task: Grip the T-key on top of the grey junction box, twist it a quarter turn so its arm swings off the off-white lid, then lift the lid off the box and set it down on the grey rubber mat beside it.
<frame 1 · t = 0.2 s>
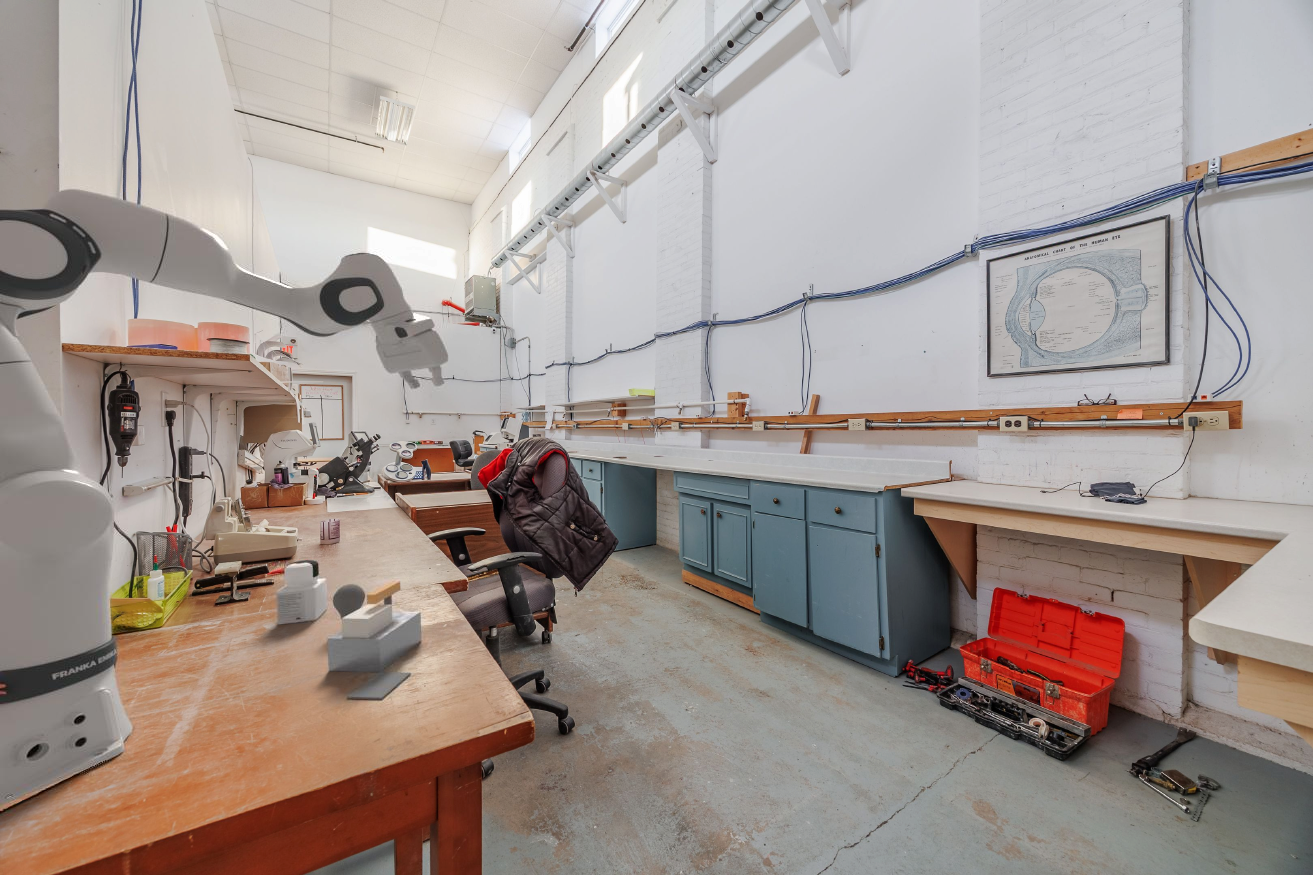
hand: (427, 386, 112), 54 cm above the table, tool tilted 30°, fingers open, 8 cm apart
t key: (384, 603, 97), point 9 cm above the table, hinge at 0.0°
container: (303, 617, 115), on the table
junction box: (378, 654, 95), on the table
lid: (368, 629, 92), point 6 cm above the table, touching junction box
mat: (380, 685, 83), on the table
light bulb: (350, 630, 107), on the table
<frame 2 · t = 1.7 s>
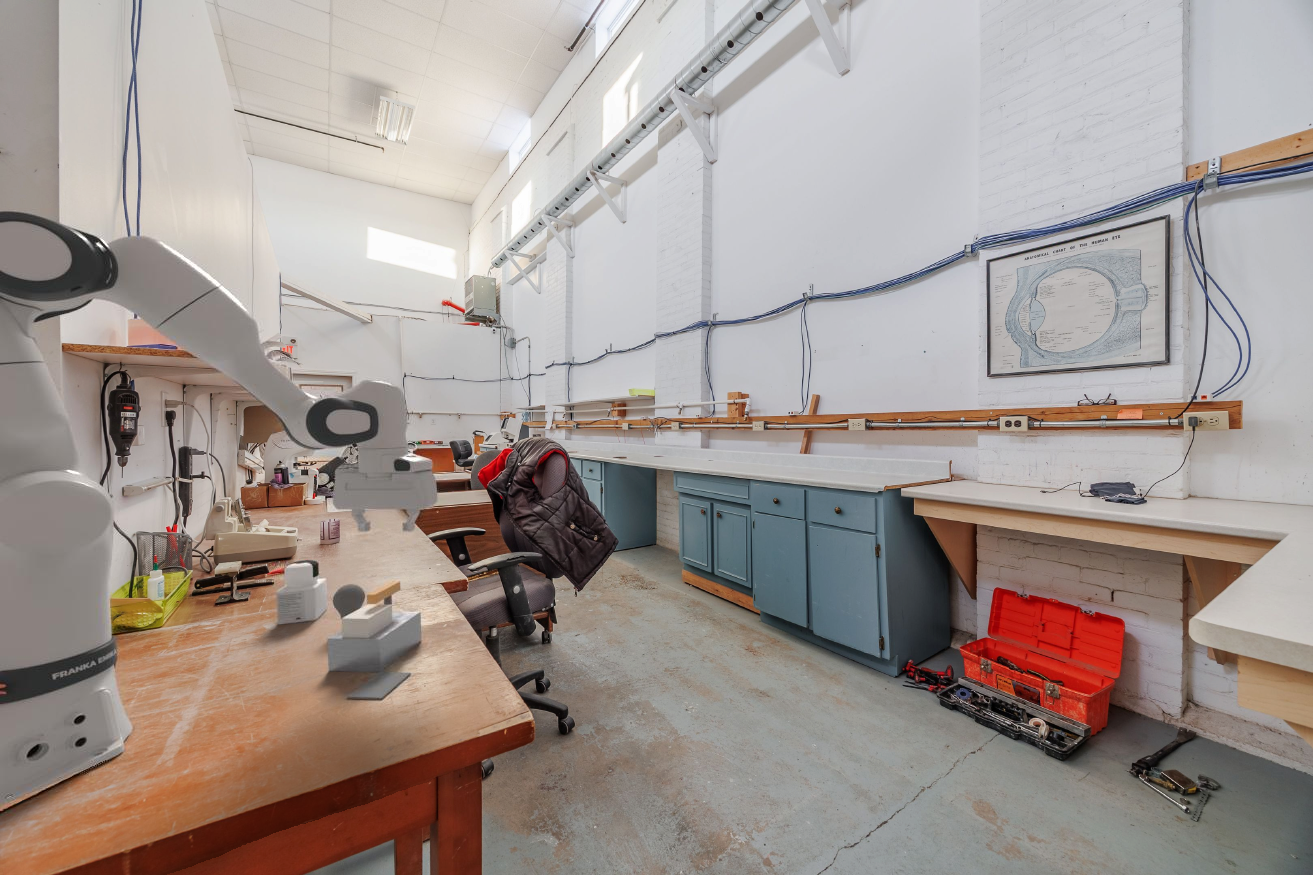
hand: (386, 531, 98), 23 cm above the table, tool pointing down, fingers open, 8 cm apart
nothing on the table moved.
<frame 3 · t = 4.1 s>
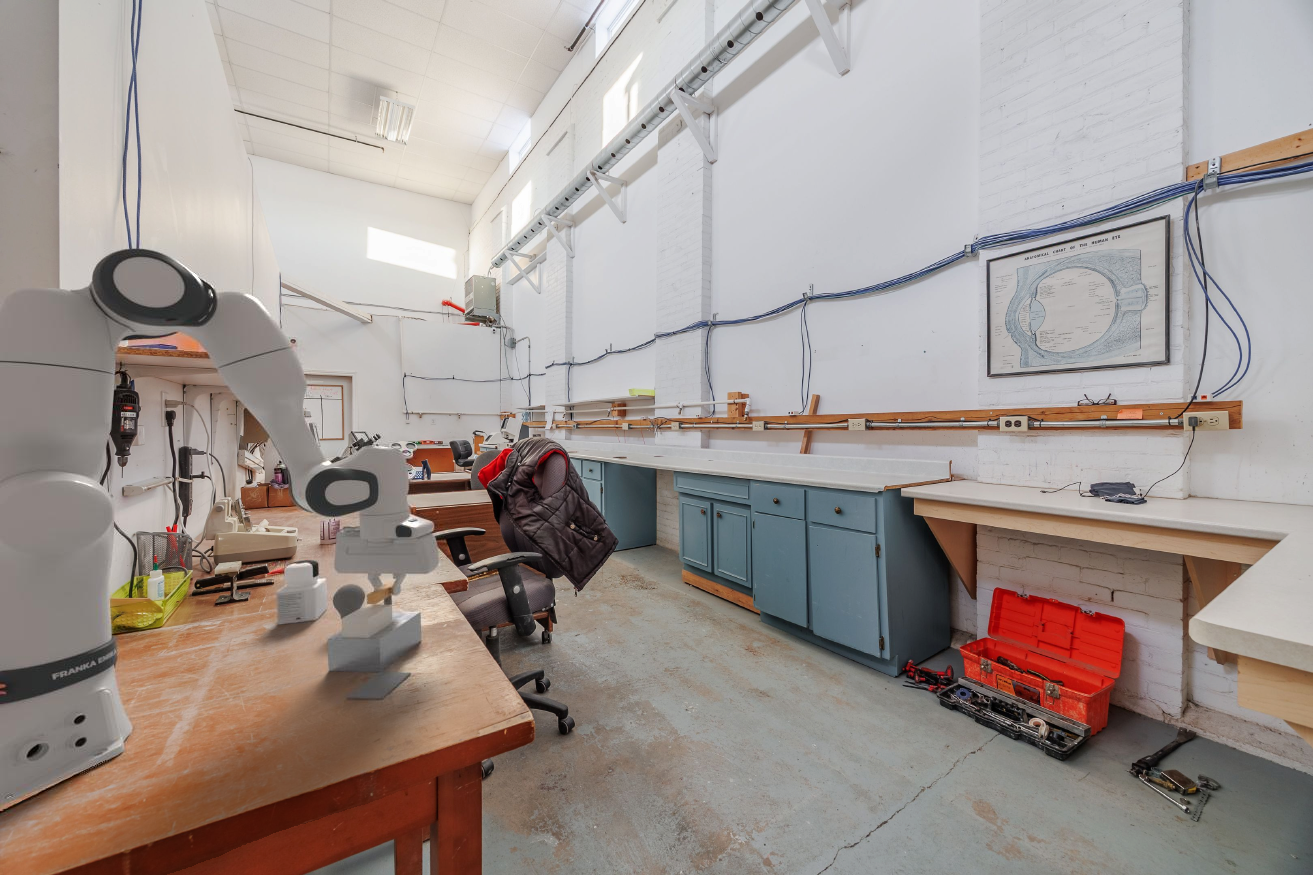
hand: (387, 594, 98), 11 cm above the table, tool pointing down, fingers closed on t key, 2 cm apart
t key: (384, 603, 97), point 9 cm above the table, hinge at 0.0°, touching gripper
everything else where it was.
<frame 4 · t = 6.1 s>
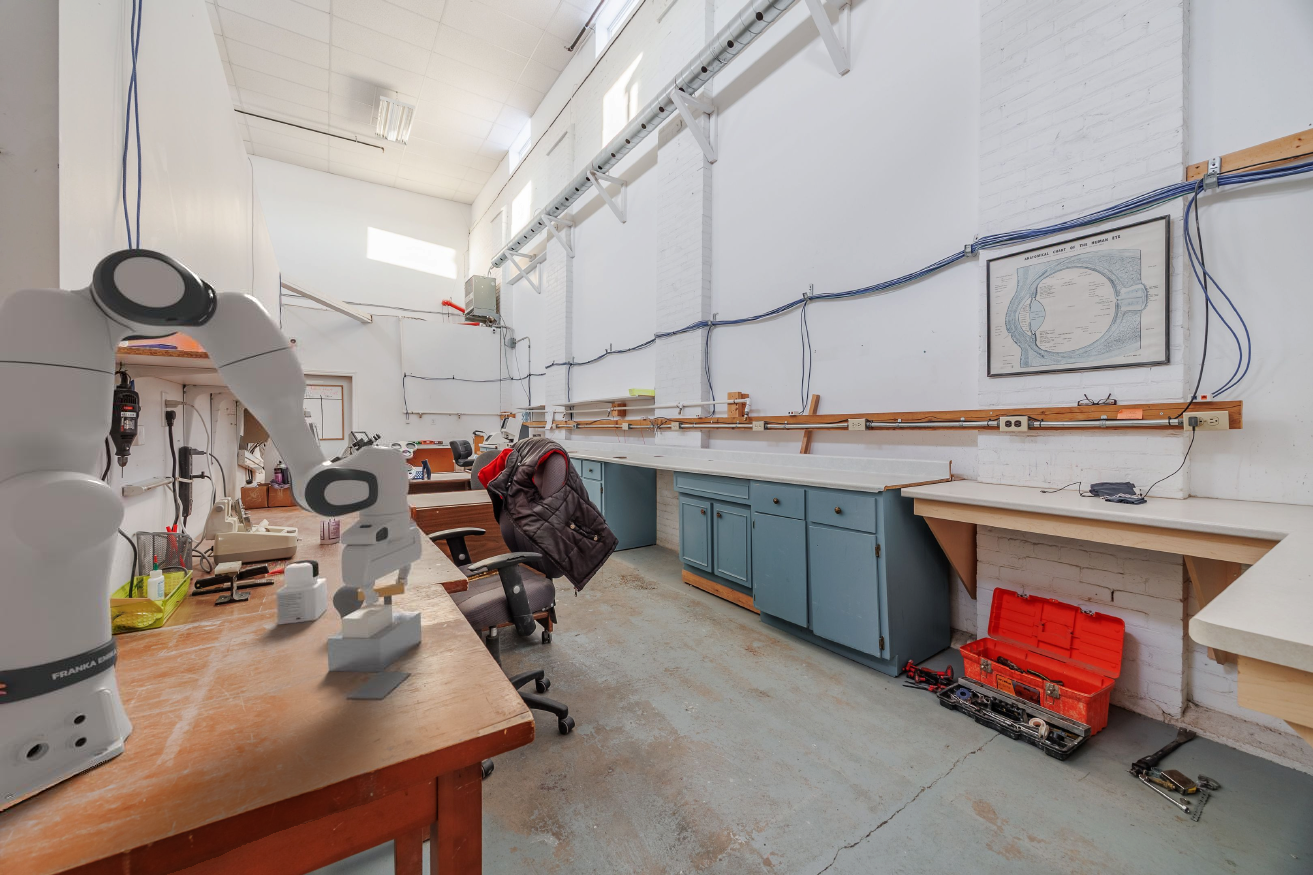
hand: (387, 594, 98), 11 cm above the table, tool pointing down, fingers open, 8 cm apart
t key: (382, 602, 97), point 9 cm above the table, hinge at -58.7°
everything else where it was.
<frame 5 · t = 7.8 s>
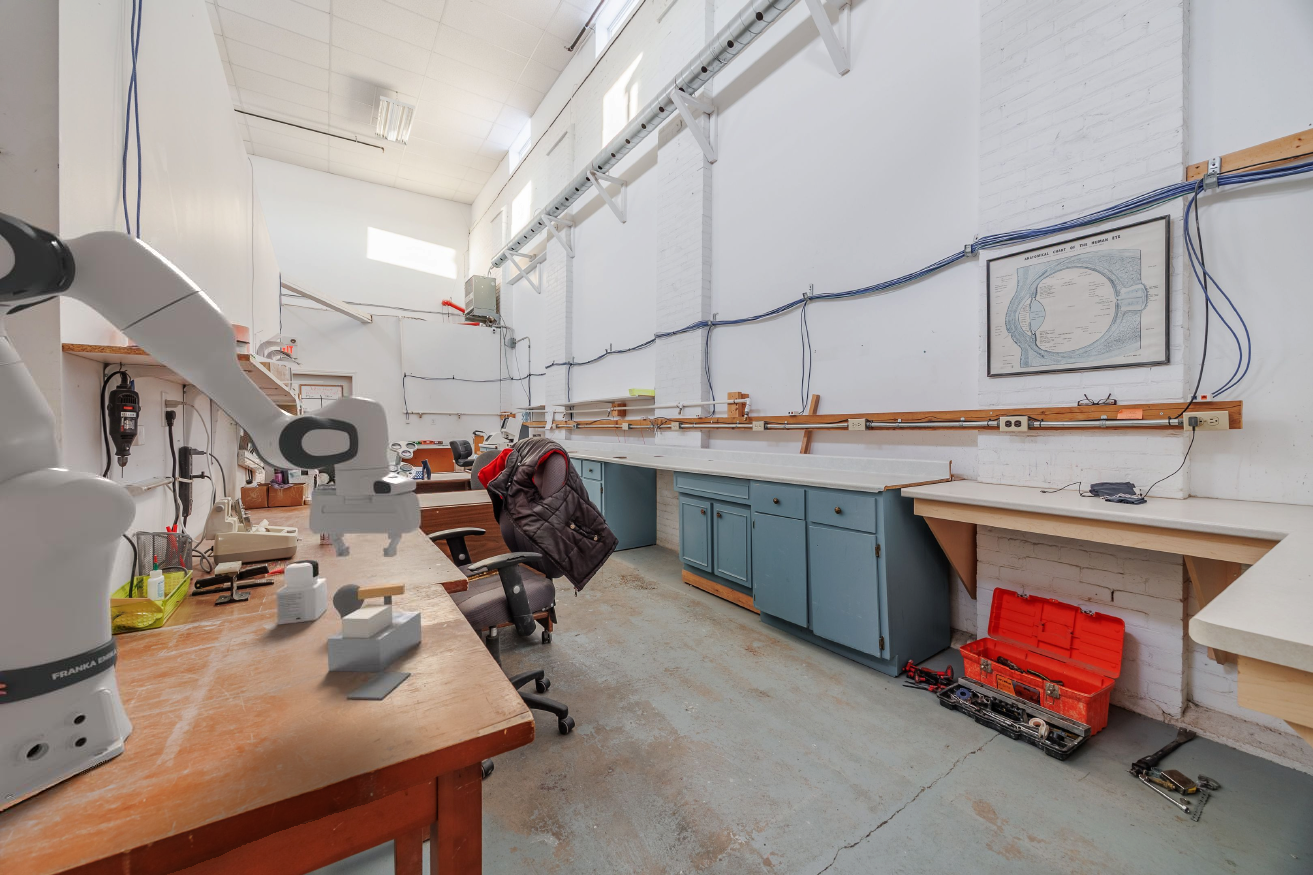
hand: (366, 556, 92), 20 cm above the table, tool pointing down, fingers open, 8 cm apart
t key: (382, 602, 98), point 9 cm above the table, hinge at -67.5°
everything else where it was.
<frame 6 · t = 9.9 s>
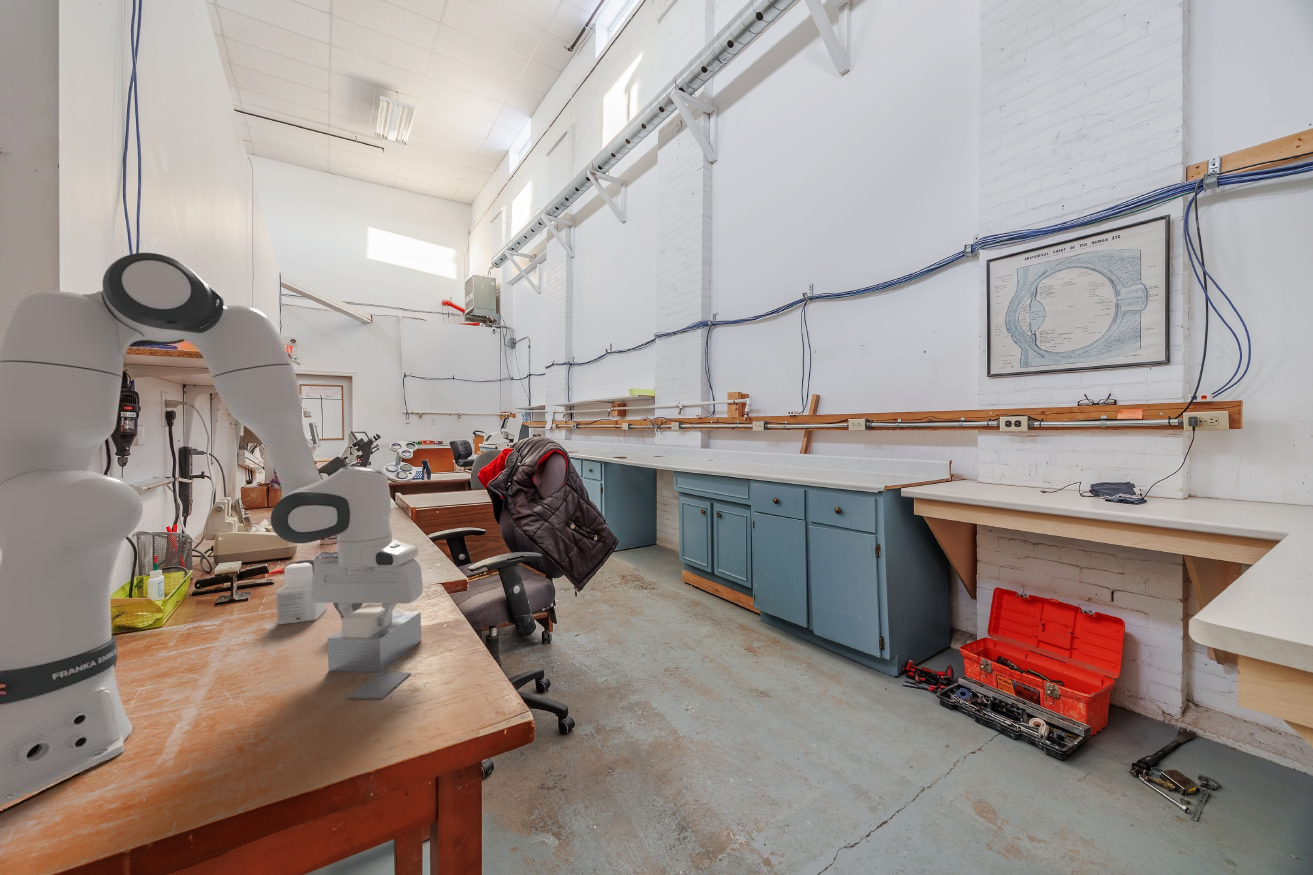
hand: (368, 624, 92), 7 cm above the table, tool pointing down, fingers closed on lid, 5 cm apart
t key: (382, 602, 98), point 9 cm above the table, hinge at -68.5°
lid: (368, 629, 92), point 6 cm above the table, touching gripper, junction box
everything else where it was.
when the fingers open (3 cm above the table, at t = 16.1 s): lid drops 1 cm, resting on mat.
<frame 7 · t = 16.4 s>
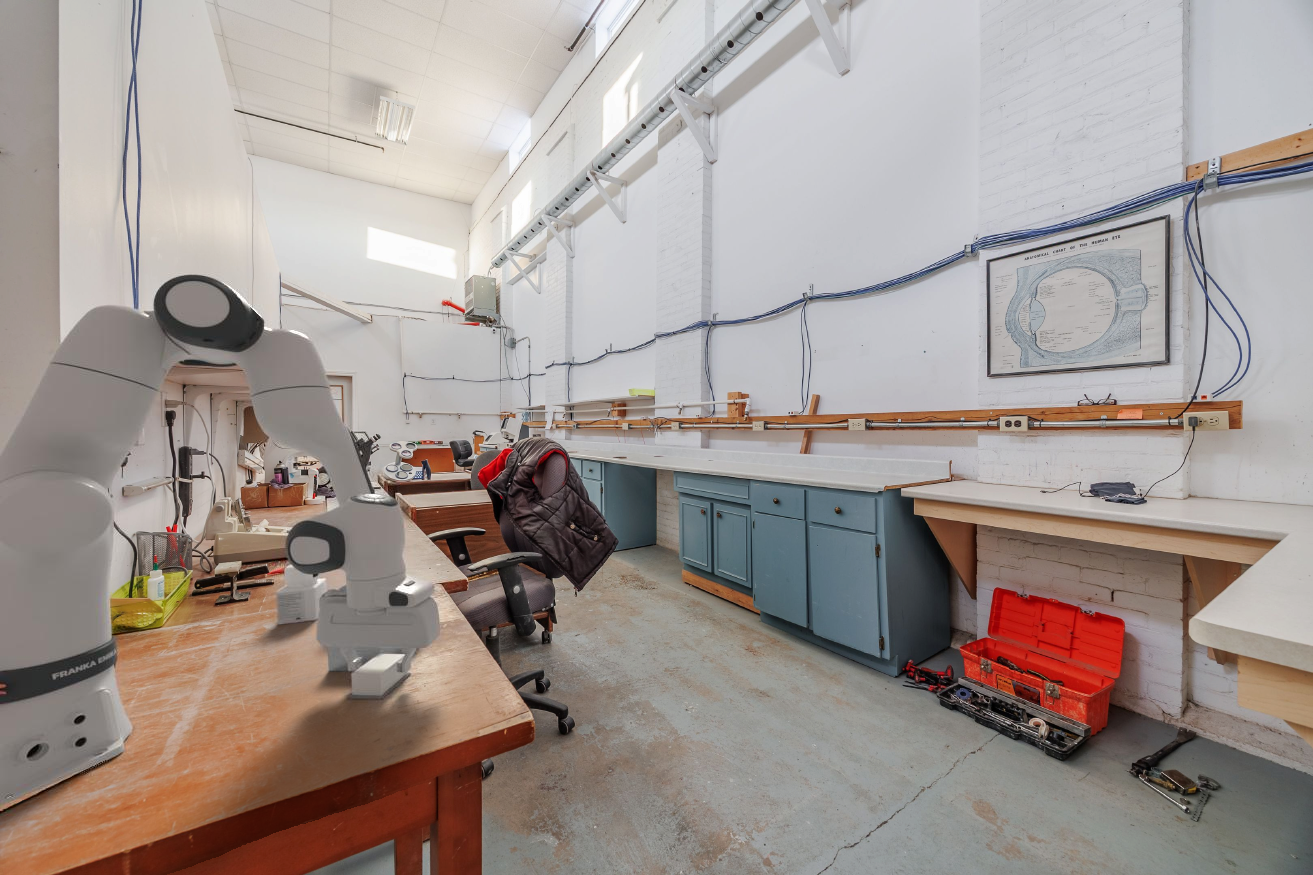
hand: (379, 670, 83), 3 cm above the table, tool pointing down, fingers open, 7 cm apart
lid: (380, 683, 83), resting on mat
everything else where it was.
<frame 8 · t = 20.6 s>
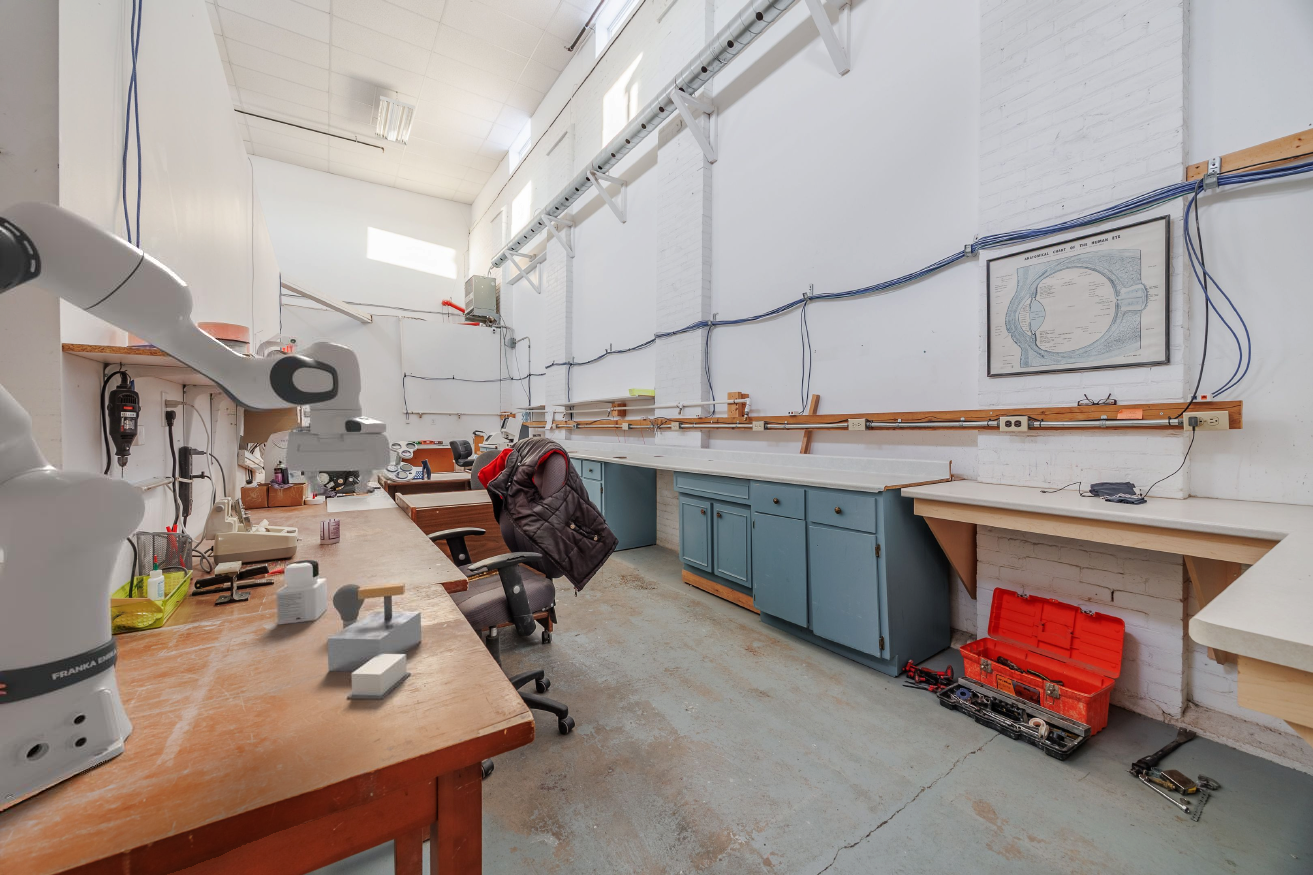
hand: (339, 493, 99), 31 cm above the table, tool pointing down, fingers open, 8 cm apart
nothing on the table moved.
at the end: lid inside the target area (0.1 cm from its centre), resting on mat; lid tilted 0°; the gripper is holding nothing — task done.
